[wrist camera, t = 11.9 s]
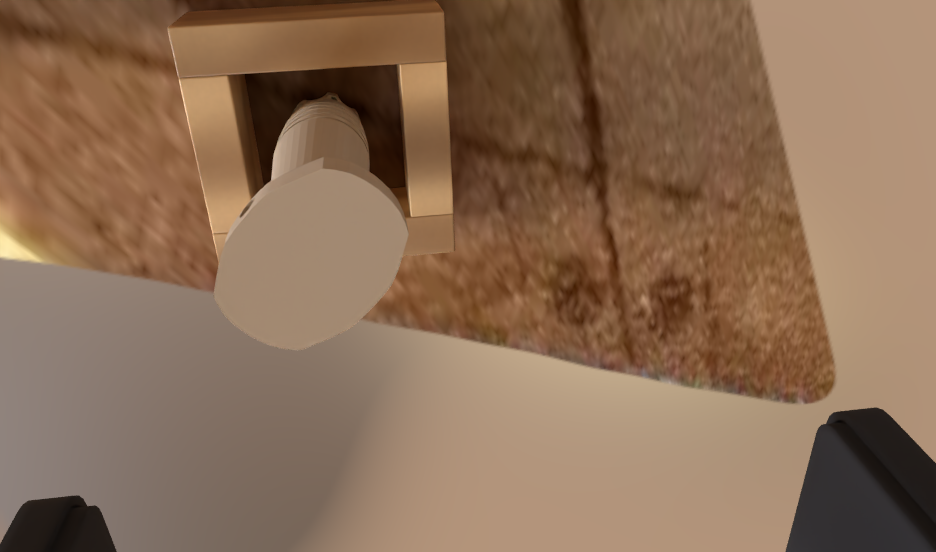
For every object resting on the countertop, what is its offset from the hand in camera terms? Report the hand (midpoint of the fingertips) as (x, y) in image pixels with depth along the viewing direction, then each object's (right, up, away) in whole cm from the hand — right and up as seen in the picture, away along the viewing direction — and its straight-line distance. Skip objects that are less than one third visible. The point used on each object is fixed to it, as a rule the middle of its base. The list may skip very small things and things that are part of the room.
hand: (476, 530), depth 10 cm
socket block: (-7, +11, +26) cm, 29 cm away
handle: (-7, +11, +26) cm, 29 cm away
